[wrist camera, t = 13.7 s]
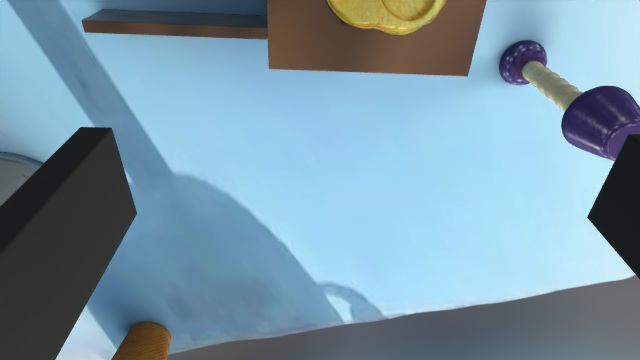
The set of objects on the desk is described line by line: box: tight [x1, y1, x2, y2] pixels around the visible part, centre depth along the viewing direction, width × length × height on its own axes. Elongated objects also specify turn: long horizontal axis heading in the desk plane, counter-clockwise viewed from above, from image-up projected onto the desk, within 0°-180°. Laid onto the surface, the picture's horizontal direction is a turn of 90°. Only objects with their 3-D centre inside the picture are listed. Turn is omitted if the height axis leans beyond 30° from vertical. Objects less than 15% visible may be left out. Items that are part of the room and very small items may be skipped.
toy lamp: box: [499, 40, 640, 161], centre depth 33 cm, size 5×5×17 cm
